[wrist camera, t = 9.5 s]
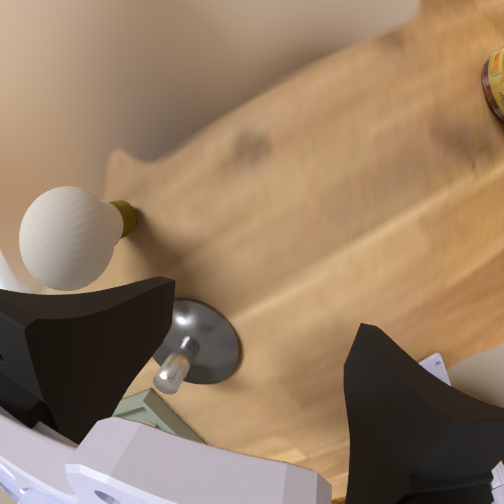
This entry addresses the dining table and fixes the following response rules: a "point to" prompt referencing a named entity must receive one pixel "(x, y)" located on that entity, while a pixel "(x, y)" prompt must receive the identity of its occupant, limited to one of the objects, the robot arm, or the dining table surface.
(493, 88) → the sauce bottle
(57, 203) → the light bulb
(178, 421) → the tray
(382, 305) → the dining table surface
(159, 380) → the grey metal round stand
